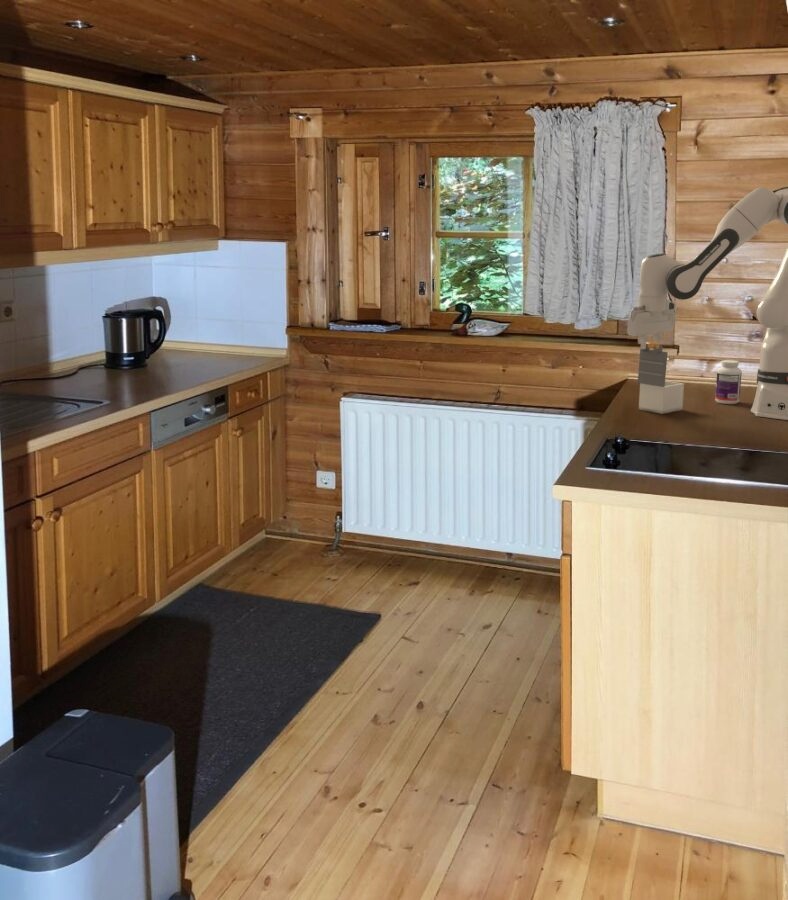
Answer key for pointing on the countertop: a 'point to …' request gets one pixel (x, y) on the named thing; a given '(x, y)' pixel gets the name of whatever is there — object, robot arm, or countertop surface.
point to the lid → (652, 365)
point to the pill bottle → (728, 383)
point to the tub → (661, 397)
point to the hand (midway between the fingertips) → (649, 348)
